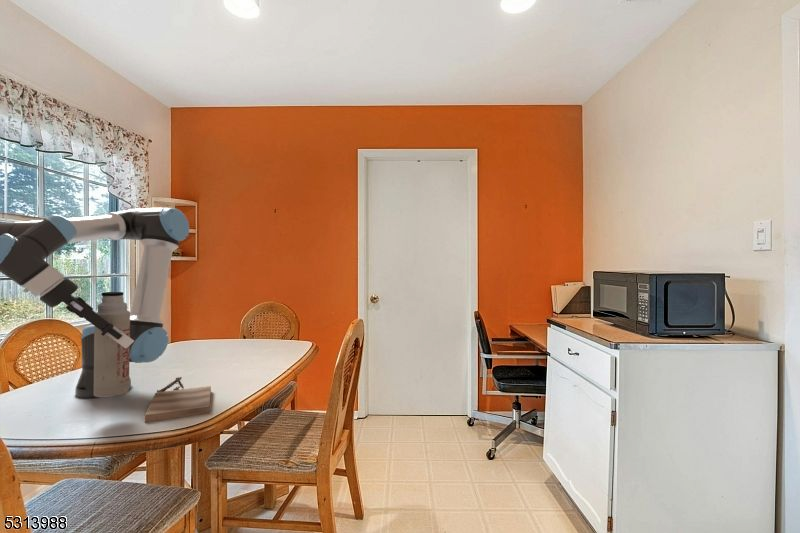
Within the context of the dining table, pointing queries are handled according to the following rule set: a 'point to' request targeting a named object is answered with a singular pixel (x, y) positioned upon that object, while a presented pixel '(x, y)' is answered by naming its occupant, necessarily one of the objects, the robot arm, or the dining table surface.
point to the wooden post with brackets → (172, 384)
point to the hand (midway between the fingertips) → (127, 342)
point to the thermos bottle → (111, 348)
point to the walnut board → (179, 403)
